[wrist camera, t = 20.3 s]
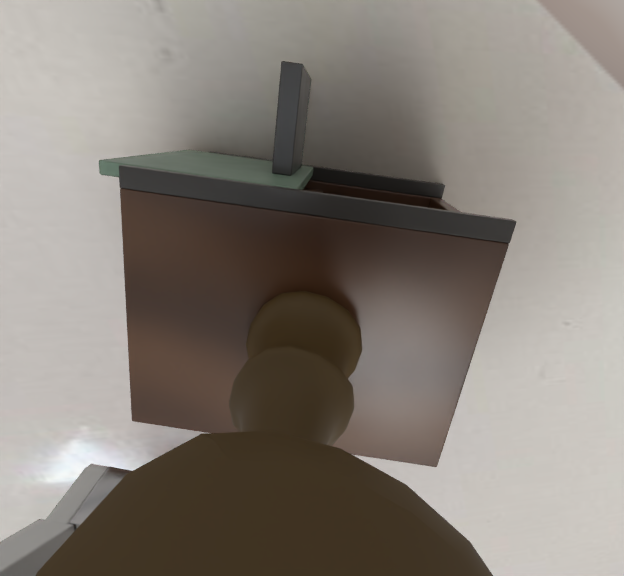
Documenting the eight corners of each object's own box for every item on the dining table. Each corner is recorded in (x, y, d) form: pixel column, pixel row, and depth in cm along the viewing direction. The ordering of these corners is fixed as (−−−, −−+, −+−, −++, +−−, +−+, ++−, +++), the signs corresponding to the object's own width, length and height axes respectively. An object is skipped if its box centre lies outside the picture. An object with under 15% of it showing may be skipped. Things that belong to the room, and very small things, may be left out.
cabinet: (209, 151, 27) (118, 165, 16) (443, 184, 27) (517, 221, 16) (204, 320, 32) (131, 421, 21) (403, 349, 32) (437, 467, 20)
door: (189, 64, 25) (88, 19, 15) (324, 82, 24) (312, 49, 15) (188, 158, 27) (98, 174, 17) (312, 176, 26) (295, 202, 17)
